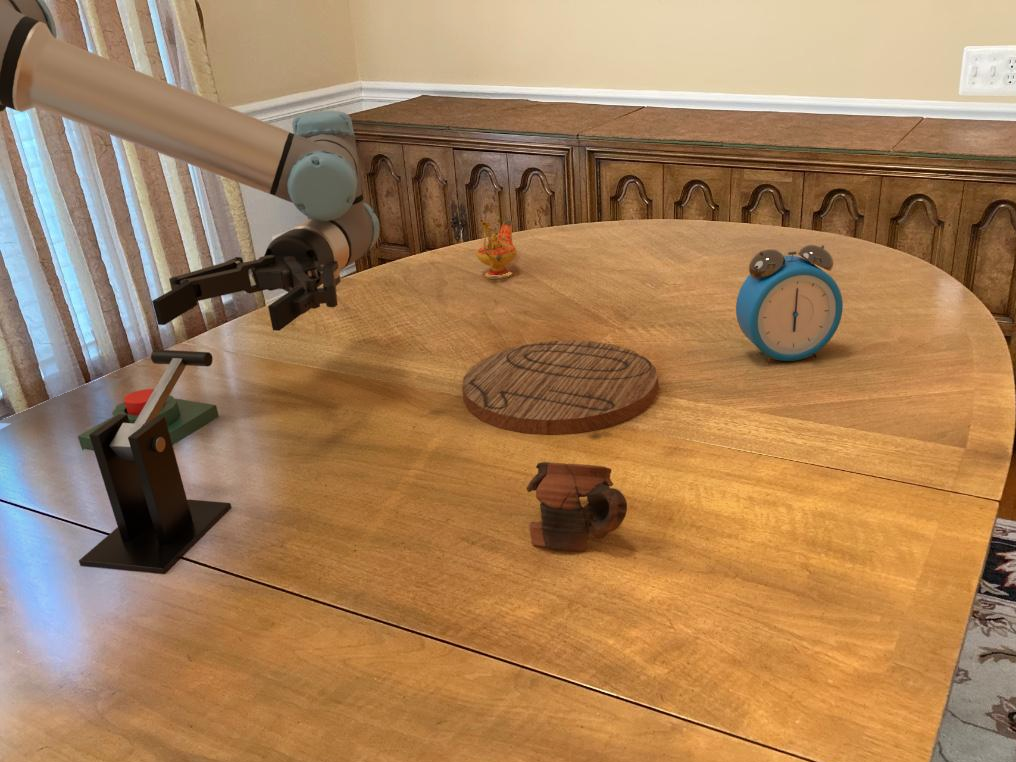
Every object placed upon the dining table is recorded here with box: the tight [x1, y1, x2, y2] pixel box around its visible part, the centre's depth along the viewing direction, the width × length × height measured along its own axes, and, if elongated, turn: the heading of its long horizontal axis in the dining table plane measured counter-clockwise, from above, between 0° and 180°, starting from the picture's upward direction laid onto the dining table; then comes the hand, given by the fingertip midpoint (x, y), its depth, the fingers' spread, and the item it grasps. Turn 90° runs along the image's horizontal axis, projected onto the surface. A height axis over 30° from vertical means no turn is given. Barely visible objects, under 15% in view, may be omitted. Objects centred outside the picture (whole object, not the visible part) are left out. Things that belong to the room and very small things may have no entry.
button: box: [123, 388, 164, 415], centre depth 116 cm, size 4×4×2 cm
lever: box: [109, 349, 214, 462], centre depth 95 cm, size 13×6×2 cm, turn 169°
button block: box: [77, 394, 220, 451], centre depth 117 cm, size 10×12×4 cm
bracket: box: [78, 414, 232, 575], centre depth 94 cm, size 12×9×13 cm
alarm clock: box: [735, 244, 844, 365], centre depth 130 cm, size 13×6×15 cm, turn 103°
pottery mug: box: [526, 461, 628, 552], centre depth 95 cm, size 12×10×8 cm
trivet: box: [461, 339, 659, 436], centre depth 126 cm, size 25×25×2 cm
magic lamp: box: [476, 220, 517, 280], centre depth 169 cm, size 7×18×11 cm, turn 171°
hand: (215, 315), depth 104 cm, fingers open, 13 cm apart
